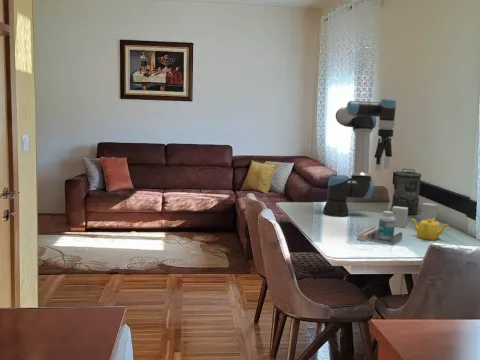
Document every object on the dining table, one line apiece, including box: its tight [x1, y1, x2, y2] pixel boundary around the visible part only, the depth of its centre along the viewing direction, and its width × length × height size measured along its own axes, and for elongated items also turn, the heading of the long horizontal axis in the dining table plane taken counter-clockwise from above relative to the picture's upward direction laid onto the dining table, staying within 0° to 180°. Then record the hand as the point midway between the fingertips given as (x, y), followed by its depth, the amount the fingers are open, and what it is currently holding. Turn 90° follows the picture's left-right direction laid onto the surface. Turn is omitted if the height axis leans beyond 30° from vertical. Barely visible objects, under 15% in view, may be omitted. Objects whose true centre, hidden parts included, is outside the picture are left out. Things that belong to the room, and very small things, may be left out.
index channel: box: [368, 229, 403, 246], centre depth 266 cm, size 12×14×4 cm
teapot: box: [411, 218, 450, 242], centre depth 276 cm, size 15×14×10 cm
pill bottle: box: [378, 210, 396, 240], centre depth 265 cm, size 8×7×14 cm
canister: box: [391, 167, 422, 215], centre depth 341 cm, size 16×16×28 cm
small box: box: [391, 206, 409, 228], centre depth 301 cm, size 8×6×10 cm
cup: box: [420, 202, 438, 222], centre depth 308 cm, size 8×8×12 cm
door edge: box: [356, 226, 379, 242], centre depth 271 cm, size 4×20×3 cm, turn 147°
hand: (382, 169), depth 281 cm, fingers open, 13 cm apart
